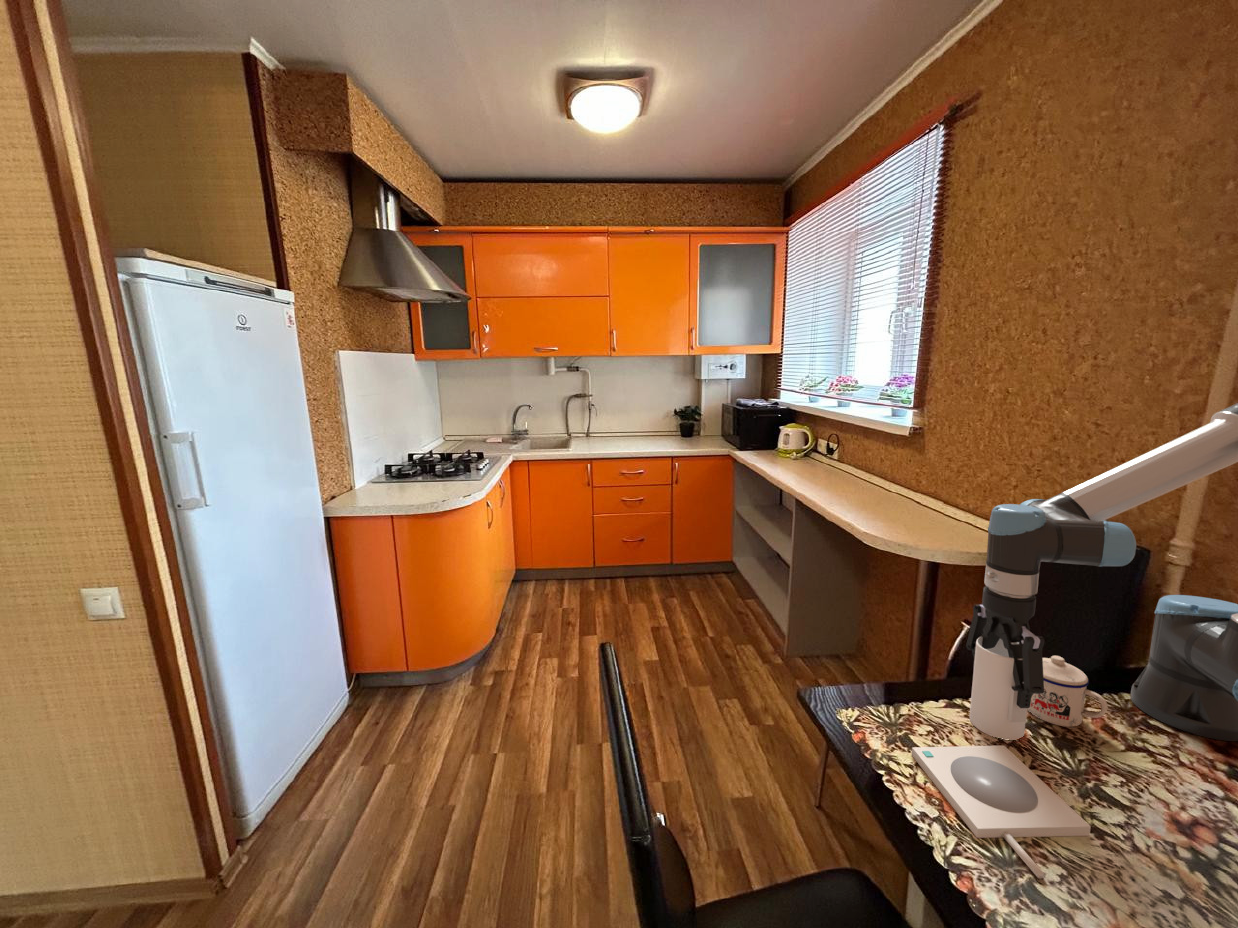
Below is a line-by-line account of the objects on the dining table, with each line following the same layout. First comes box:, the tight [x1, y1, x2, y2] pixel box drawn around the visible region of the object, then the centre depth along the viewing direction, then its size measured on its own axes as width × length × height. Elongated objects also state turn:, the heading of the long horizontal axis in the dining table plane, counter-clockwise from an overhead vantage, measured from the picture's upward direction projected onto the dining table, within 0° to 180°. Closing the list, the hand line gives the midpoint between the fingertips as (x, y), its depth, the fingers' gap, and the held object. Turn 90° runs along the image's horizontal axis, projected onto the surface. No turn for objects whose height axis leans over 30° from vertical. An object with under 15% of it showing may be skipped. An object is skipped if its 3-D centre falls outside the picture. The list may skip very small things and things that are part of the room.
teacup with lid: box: [1027, 655, 1109, 728], centre depth 94 cm, size 12×9×12 cm
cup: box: [968, 637, 1026, 741], centre depth 91 cm, size 8×8×16 cm
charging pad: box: [911, 745, 1091, 880], centre depth 75 cm, size 16×22×2 cm
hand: (998, 704), depth 92 cm, fingers closed on cup, 8 cm apart
